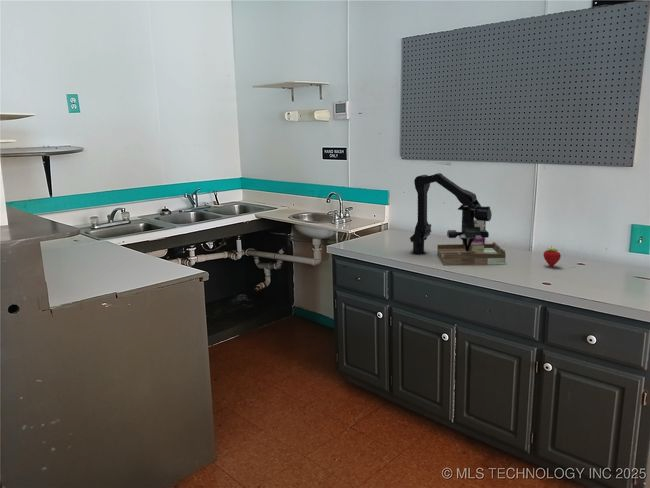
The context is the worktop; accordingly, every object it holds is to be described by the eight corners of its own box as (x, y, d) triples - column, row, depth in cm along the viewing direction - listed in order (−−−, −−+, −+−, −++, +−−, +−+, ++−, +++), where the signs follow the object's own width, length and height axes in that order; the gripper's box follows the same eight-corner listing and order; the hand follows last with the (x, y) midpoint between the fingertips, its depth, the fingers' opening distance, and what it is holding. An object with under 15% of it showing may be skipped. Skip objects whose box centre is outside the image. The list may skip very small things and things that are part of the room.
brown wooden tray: (437, 254, 255) (437, 242, 254) (493, 253, 253) (494, 241, 252) (443, 265, 236) (444, 252, 234) (505, 264, 234) (505, 251, 232)
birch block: (469, 251, 246) (469, 243, 245) (480, 251, 246) (481, 243, 245) (471, 254, 241) (472, 246, 240) (483, 254, 241) (483, 246, 240)
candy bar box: (485, 248, 263) (486, 218, 259) (484, 251, 258) (485, 219, 254) (463, 247, 267) (464, 217, 263) (461, 249, 262) (462, 218, 258)
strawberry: (555, 269, 223) (556, 247, 221) (539, 266, 229) (541, 244, 227) (562, 267, 226) (564, 245, 224) (547, 263, 232) (548, 242, 230)
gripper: (451, 223, 233) (450, 255, 236) (492, 222, 231) (490, 255, 235) (447, 218, 244) (446, 249, 247) (486, 218, 242) (485, 249, 246)
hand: (466, 251), depth 243 cm, fingers closed
